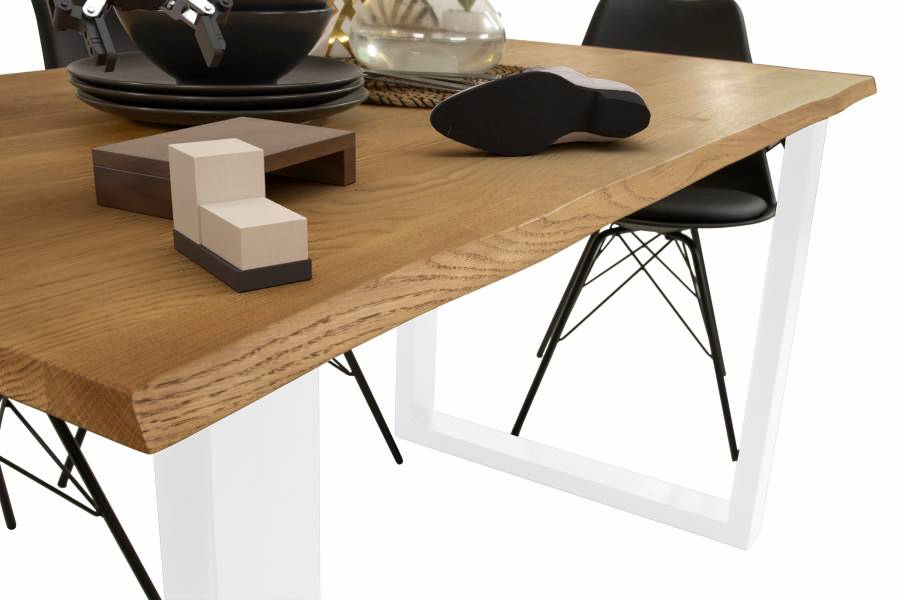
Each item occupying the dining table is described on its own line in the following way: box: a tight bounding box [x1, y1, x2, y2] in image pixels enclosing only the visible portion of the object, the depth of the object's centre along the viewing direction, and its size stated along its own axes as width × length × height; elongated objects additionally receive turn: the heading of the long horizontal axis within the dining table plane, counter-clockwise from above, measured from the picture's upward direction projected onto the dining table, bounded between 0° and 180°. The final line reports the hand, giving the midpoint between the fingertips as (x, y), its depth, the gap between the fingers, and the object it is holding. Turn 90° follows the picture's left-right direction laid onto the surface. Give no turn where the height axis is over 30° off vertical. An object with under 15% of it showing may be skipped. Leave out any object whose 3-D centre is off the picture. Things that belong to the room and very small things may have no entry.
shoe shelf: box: [91, 116, 357, 220], centre depth 93 cm, size 14×20×5 cm
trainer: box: [168, 138, 313, 293], centre depth 73 cm, size 12×6×8 cm, turn 35°
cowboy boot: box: [429, 65, 652, 157], centre depth 123 cm, size 10×28×25 cm
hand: (165, 63), depth 79 cm, fingers open, 8 cm apart
